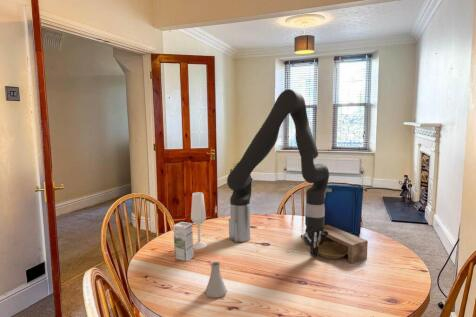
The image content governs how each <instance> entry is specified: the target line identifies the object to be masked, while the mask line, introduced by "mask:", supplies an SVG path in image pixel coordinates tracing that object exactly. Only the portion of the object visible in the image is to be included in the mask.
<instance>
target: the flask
mask: <svg viewBox="0 0 476 317" xmlns="http://www.w3.org/2000/svg"><path fill="white" fill-rule="evenodd" d="M210 267H211V270H210V275H209V279H208V282H207V285H206V287H205V291H204V294H205V296H206V297H207V298H210V299H211V298H213V299H219V298H223V297H225V296H226V295H227V292H228V290H227V287H226V286H225V283H224V281H223V278H222V274H221V270H220V267H221V263H220V262H219V261H212V262H211V263H210Z"/></svg>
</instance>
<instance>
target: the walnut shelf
mask: <svg viewBox="0 0 476 317" xmlns="http://www.w3.org/2000/svg"><path fill="white" fill-rule="evenodd" d="M324 230H325V231H327V232H328V235H327V236H326V238H325V240H324V241H333V242H338V243H341V244H343V245H345V246H347V247H348V254H347V262H348V263H350V264H354V263H358V262H361V261H363V260H367V259H368V243H369V242H368V240H367V239H365V238H362V237H361V236H360V237H359V236H358V235H352V234H350V233H347V232H345V231H342V230H340V229H337V228H335V227H332V226H330V225H324ZM321 239H322V238H321ZM320 241H321V240H320Z"/></svg>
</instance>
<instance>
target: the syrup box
mask: <svg viewBox="0 0 476 317" xmlns="http://www.w3.org/2000/svg"><path fill="white" fill-rule="evenodd" d="M193 234H194V232H193V222H186V221H185V222H184V221H180V222H178V223H177V222H176V223H175V224H174V225H173V244H174V260H178V261H181V262H188V261H189V260H191V259H192V258H193V257H194V248H193V244H194V237H193Z"/></svg>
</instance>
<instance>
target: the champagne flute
mask: <svg viewBox="0 0 476 317" xmlns="http://www.w3.org/2000/svg"><path fill="white" fill-rule="evenodd" d="M191 195H192V196H191V209H190V210H191V211H190V212H191V213H190V219H191V221H192V223H193V224H195V225H196V226H197V242H195V243H193V249H197V250H198V249H200V250H201V249H204V248H206V247H207V246H208V245H207V244H206V243H205V242H203V241H201V225H202V224H203V223H205V220H206V219H207V214H206V213H207V212H206V206H205V196H204V192H201V191H200V192H199V191H198V192H197V191H196V192H193V193H192V194H191Z"/></svg>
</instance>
